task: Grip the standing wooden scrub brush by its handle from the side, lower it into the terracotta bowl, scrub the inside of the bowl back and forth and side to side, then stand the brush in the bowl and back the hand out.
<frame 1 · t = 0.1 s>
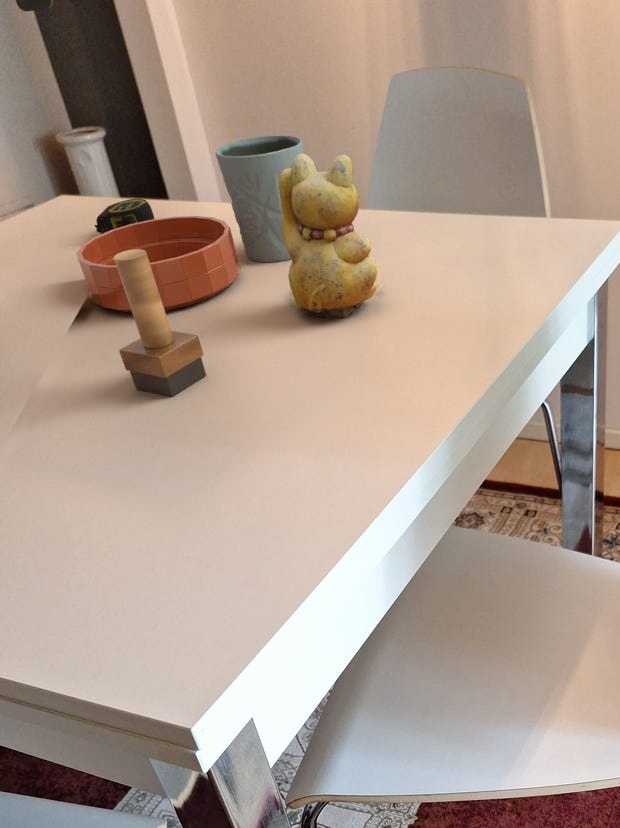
hand: (52, 1, 64), 31 cm above the table, tool pointing down, fingers open, 8 cm apart
bowl: (168, 288, 109), on the table
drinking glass: (281, 251, 116), on the table
decorative figurine: (337, 312, 99), on the table
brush: (171, 382, 88), on the table
tape measure: (127, 236, 127), on the table
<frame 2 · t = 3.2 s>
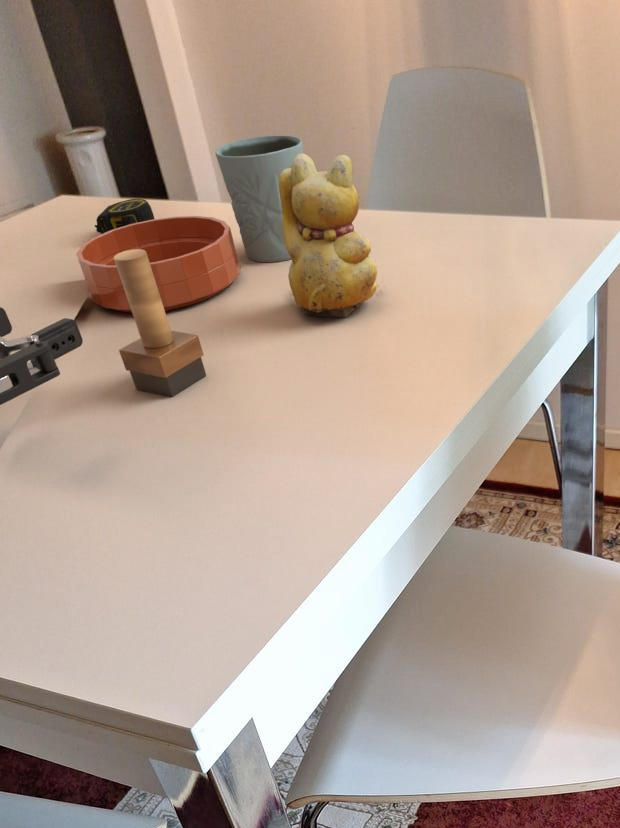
hand: (40, 324, 75), 10 cm above the table, tool horizontal, fingers open, 8 cm apart
nothing on the table moved.
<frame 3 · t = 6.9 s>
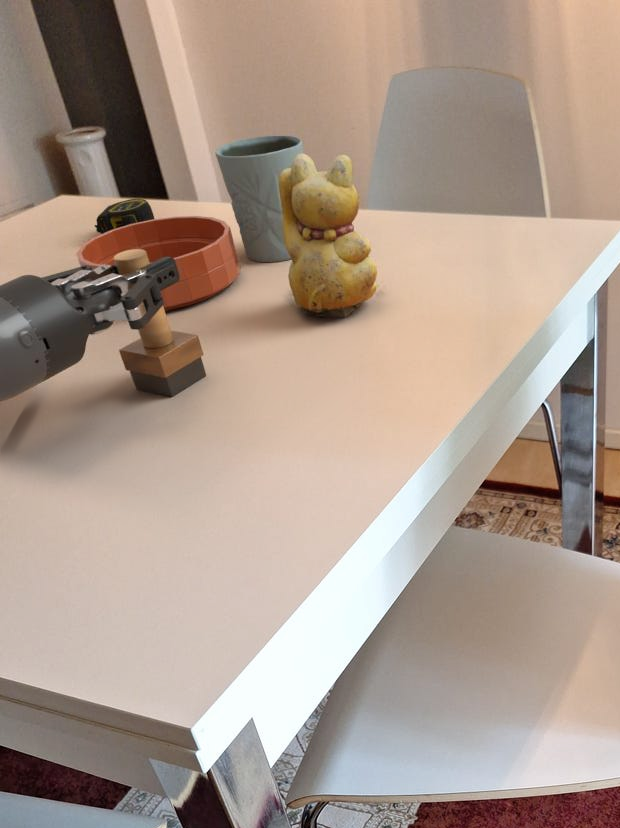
hand: (160, 266, 84), 10 cm above the table, tool horizontal, fingers closed on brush, 3 cm apart
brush: (171, 382, 88), on the table, touching gripper
everything else where it was.
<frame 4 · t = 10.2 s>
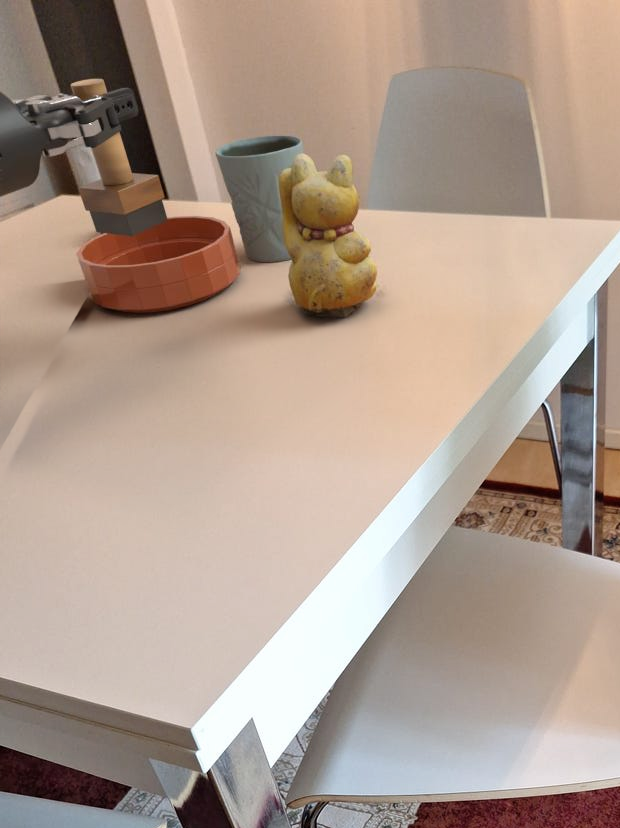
hand: (119, 100, 83), 22 cm above the table, tool horizontal, fingers closed on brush, 3 cm apart
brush: (132, 226, 88), point 12 cm above the table, touching gripper
everything else where it was.
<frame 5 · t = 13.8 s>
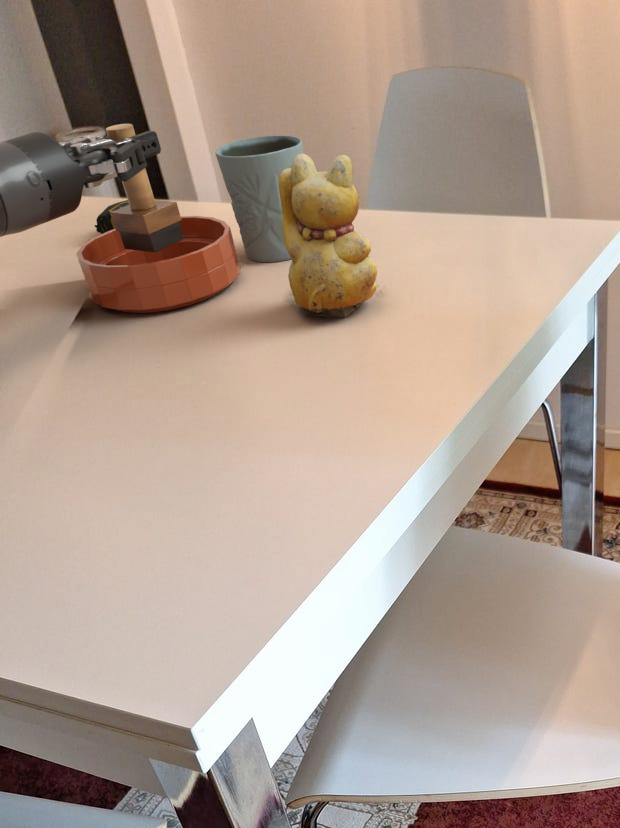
hand: (144, 141, 100), 15 cm above the table, tool horizontal, fingers closed on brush, 3 cm apart
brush: (154, 244, 105), point 5 cm above the table, touching gripper
everything else where it was.
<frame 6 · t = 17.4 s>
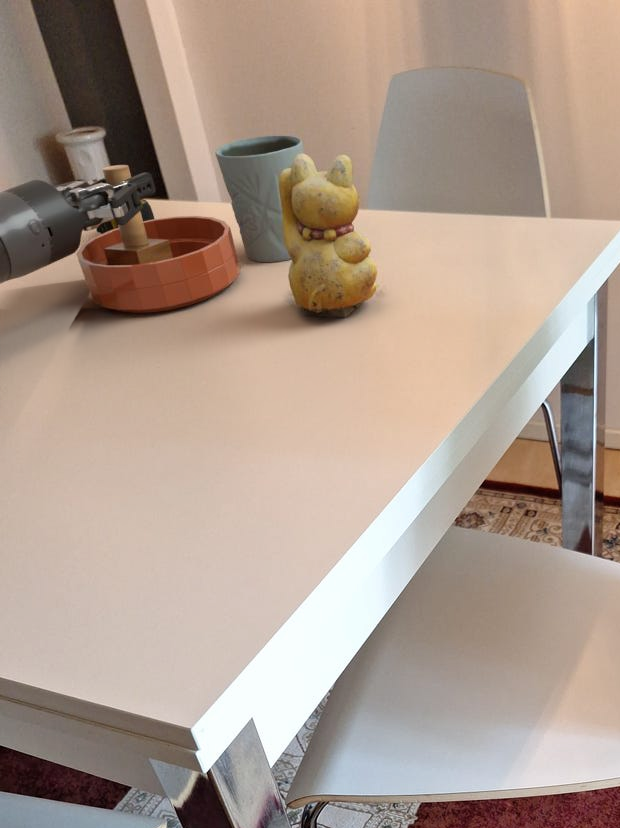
hand: (140, 181, 104), 11 cm above the table, tool horizontal, fingers closed on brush, 3 cm apart
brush: (145, 280, 108), point 1 cm above the table, touching bowl, gripper
everything else where it was.
when the fingers open (11 cm above the table, at t = 20.9 s): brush stays where it is, resting on bowl.
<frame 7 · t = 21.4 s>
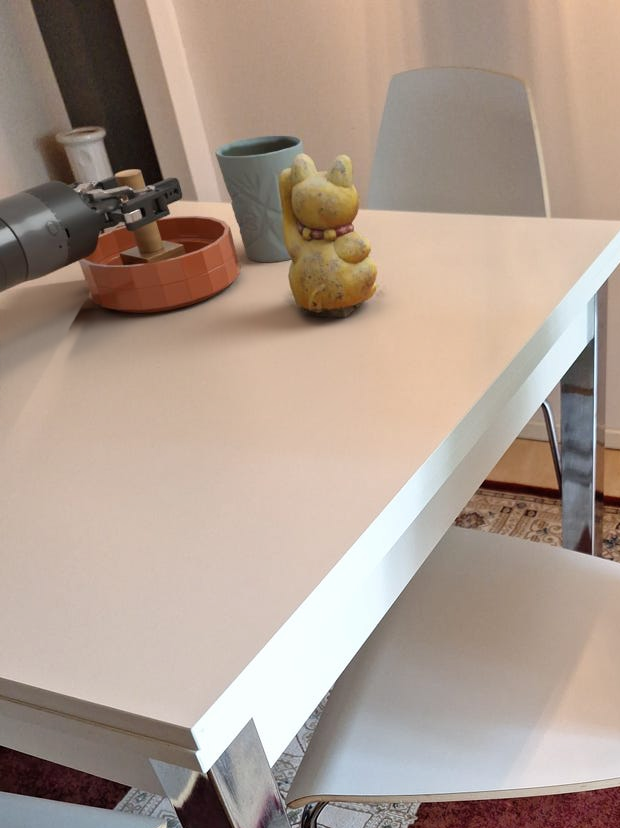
hand: (152, 185, 103), 11 cm above the table, tool horizontal, fingers open, 7 cm apart
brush: (162, 283, 108), point 1 cm above the table, touching bowl
everything else where it was.
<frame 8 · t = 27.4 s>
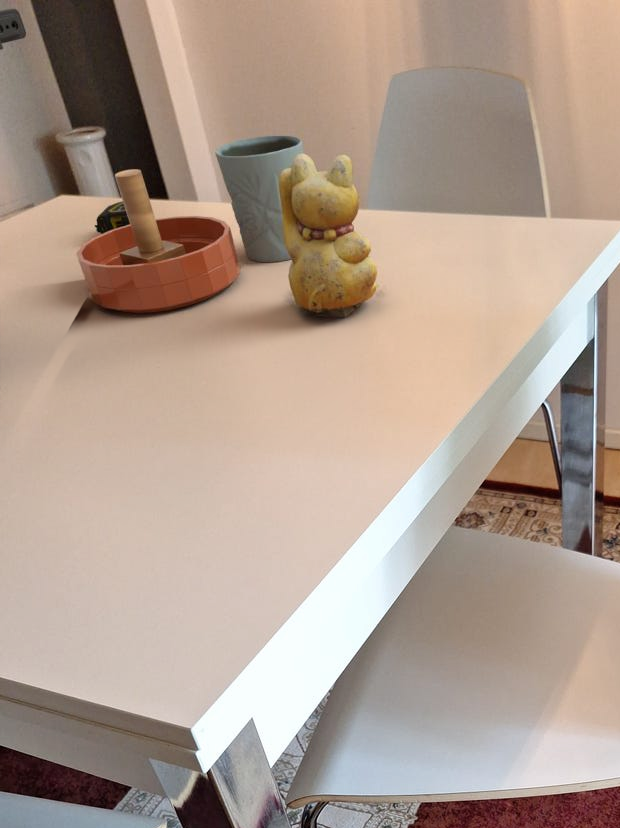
nothing on the table moved.
at the end: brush inside the target area in the bowl (0.8 cm from its centre), point 0.8 cm above the bowl's base; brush tilted 0°; the gripper is holding nothing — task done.
